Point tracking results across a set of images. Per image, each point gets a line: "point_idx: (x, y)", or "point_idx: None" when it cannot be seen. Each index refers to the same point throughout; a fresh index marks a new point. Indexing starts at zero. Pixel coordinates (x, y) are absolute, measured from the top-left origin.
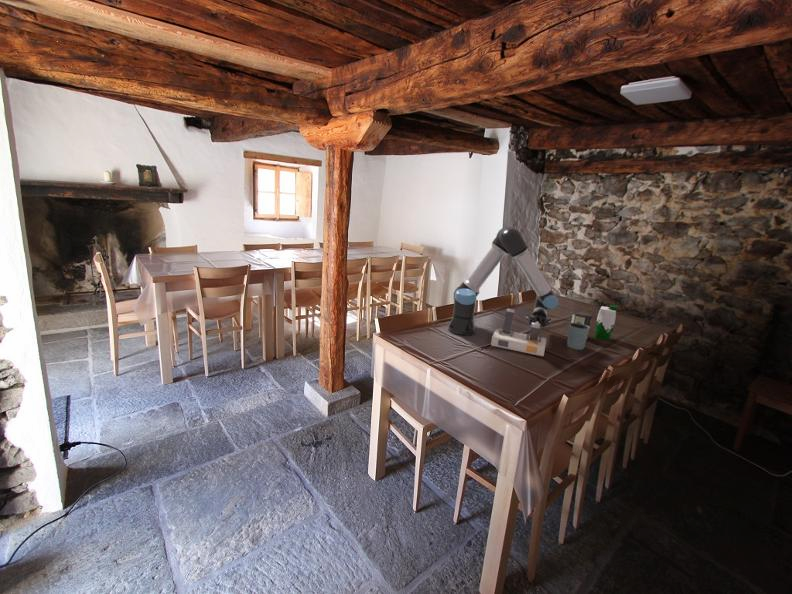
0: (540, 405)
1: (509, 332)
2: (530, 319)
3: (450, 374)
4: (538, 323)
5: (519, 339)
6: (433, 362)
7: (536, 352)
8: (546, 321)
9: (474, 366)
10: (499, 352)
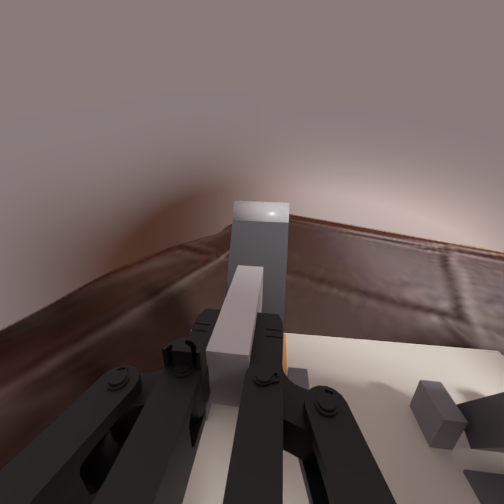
0: None
1: (469, 424)
2: (350, 423)
3: (388, 234)
4: (247, 202)
5: (342, 371)
6: (450, 248)
7: None
8: (7, 463)
9: (377, 255)
10: (381, 331)
